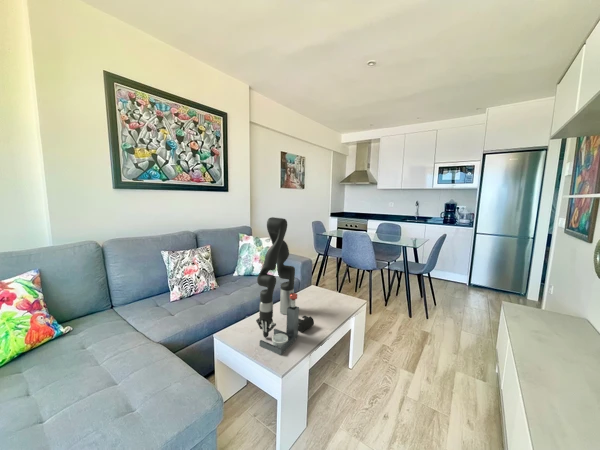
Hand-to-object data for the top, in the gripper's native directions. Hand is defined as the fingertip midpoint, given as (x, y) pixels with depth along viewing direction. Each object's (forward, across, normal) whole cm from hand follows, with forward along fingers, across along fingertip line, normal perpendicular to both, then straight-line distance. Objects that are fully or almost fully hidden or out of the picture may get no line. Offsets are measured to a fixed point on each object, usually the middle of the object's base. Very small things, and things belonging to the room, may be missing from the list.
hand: (265, 336), depth 140 cm
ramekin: (+1, -10, +1) cm, 10 cm away
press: (+1, -9, -2) cm, 9 cm away
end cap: (+1, -14, -20) cm, 25 cm away
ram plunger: (-14, -12, -9) cm, 21 cm away
